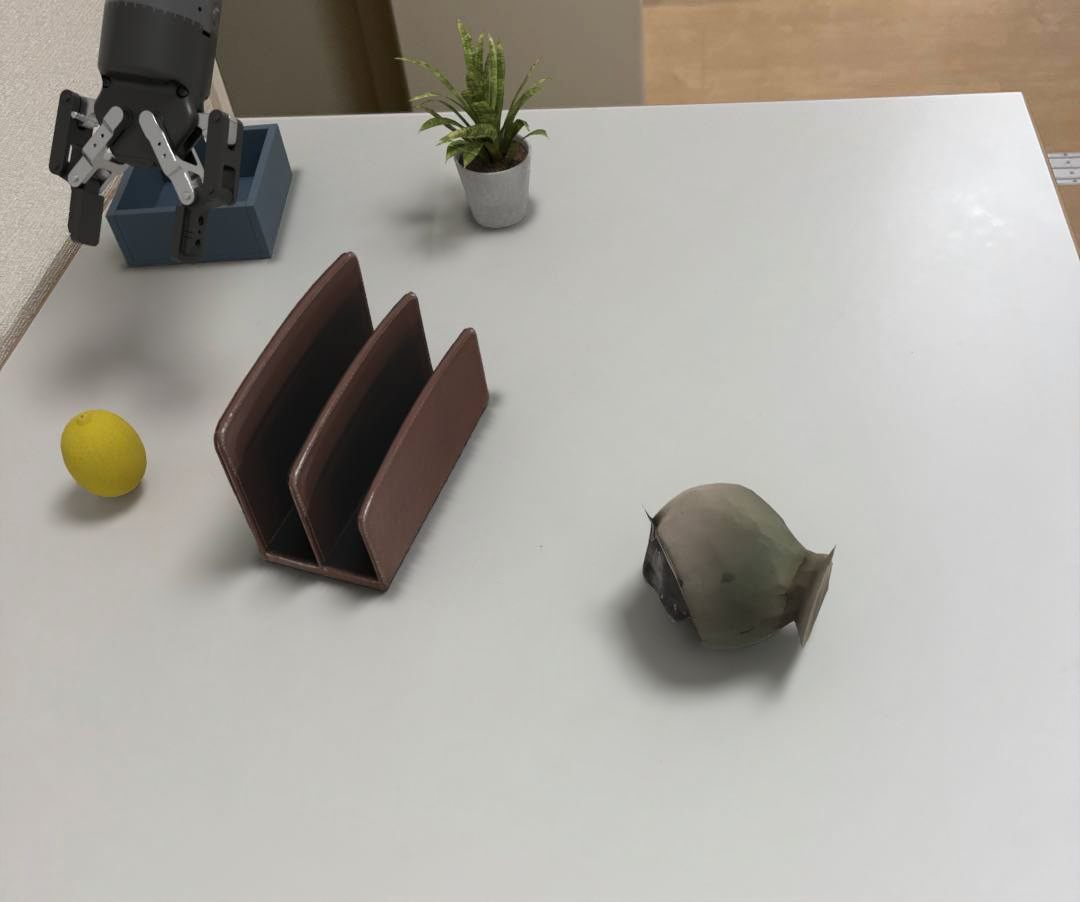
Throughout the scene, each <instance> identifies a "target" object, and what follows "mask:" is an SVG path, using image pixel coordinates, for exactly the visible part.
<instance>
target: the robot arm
mask: <svg viewBox="0 0 1080 902" xmlns="http://www.w3.org/2000/svg"><path fill="white" fill-rule="evenodd" d="M103 4H104V6H103V13H102V21H101V30H100V39H99V47H98V55H97V56H98V57H97V70H98V71H99V74H100V77H101V82H102V83H101V89H100V91H99V93H98V95H97V97H96V98H93V97H87V96H85V95H82V94H80V93H77V92H75V91H73V90H71V89H67V88H65V89H63V90H62V91H61V92H60V94H59V97H58V98H59V99H58V104H57V110H56V117H55V124H54V130H53V137H52V140H51V141H52V142H51V146H50V154H49V160H48V170H49V172H50V173H51V174H52V175H55V176H58V177H59V178H61V179H62V180H64V181H65V182H67V183H68V185H69V186H70V200H69V209H68V211H69V212H68V217H67V230H68V233H69V234H70V235H69V236H70V237H69V238H70V240H71V242H73V243H76V244H79V245H84V246H89V247H94V248H95V247H97V246H98V245H99V244H100V239H101V238H100V237H101V230H102V221H103V212H104V205H105V196H103V195H101V194H103V192H104V191H105V190H106V189H107V187H108V186H109V185H110V183H111V182H112V181H114V179H115V178H116V176H119V175H123V174H124V172H125V171H126V170H127V168H128V167H129V166H130V165H131V166H133V167H138V168H149V167H152V168H155V169H158V170H160V171H163V172H164V173H165V174H166V176H168V177H169V178H170V180H171V181H172V184H173V186H174V188H175V190H176V192H177V195H178V197H179V199H180V201H181V202H182V206H176V209H175V217H174V224H173V232H172V240H171V247H170V257H171V259H172V260H174V261H178V262H182V264H186V265H192V266H193V265H195V264H196V261H197V257H200V256H201V254H202V252H203V249H204V241H205V234H206V227H207V219H208V214H209V212H210V211H211V210H212V209H213V208H216V207H220V206H224V205H226V206H233V205H234V204H235V203H236V202H237V198H238V186H239V175H240V163H241V152H242V140H243V129H244V127H243V126H244V123H243V121H242V120H240V119H238V118H237V117H235V116H234V115H232V114H229V113H227V112H225V111H223V110H220V109H219V108H218V109H217V108H215V109H213V110H211V111H210V112H209V113H208V112H205V101H207V100H209V98H210V96H211V91H212V82H213V76H214V70H215V69H214V68H215V61H216V53H217V45H218V37H219V30H220V25H221V23H220V22H221V16H222V8H223V0H104V3H103ZM94 128H97V129H96V131H95V132H94ZM202 136H204V140H205V142H206V153H205V165H204V169H203V167H202V164H201V162H200V160H199V158H198V156H197V153H196V151H195V149H194V146H195V145H196V143H197V142H198V141H199V140H200V138H201V137H202ZM108 150H109V151H110V152H108ZM70 151H71V152H70Z"/></svg>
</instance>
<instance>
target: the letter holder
mask: <svg viewBox="0 0 1080 902" xmlns="http://www.w3.org/2000/svg"><path fill="white" fill-rule="evenodd" d="M361 269H362V268H361V266H360V261H359V258H358V256H357V255H356V254H355V252H354V251H351V250H349V251H347V252H342V253H341V254H340V255H338V257H337V258H336V259H335V260H334V261H333V262H332V263H331V264H330V265H329V266H328V267H326V269H325V270H324V271H323V272H322V273H321V275H319V277H318V278H317V279H316V280H315V281H314V282H313V283H312V284H311V286H310V287H309V288H308V289H307V291H306V292H305V293H304V294H303V295H302V296H301V298H300V299H299V300H298V302H297V303H296V304H295V305H294V306H293V308H292V309H291V310H290V311H289V313H288V314H287V316H286V317H285V318H284V320H283V321H282V323H281V324H280V326H279V327H278V328H277V330H276V331H275V333H274V334H273V335H272V336H271V338H270V340H269V342H268V343H267V344H266V345H265V347H264V348H263V350H262V351H261V353H260V354H259V356H258V357H257V358H256V360H255V362H254V363H253V364H252V366H251V368H250V369H249V370H248V372H247V374H246V375H245V377H244V378H243V379H242V381H241V383H240V384H239V386H238V388H237V389H236V391H235V392H234V394H233V395H232V397H231V399H230V400H229V403H228V404H227V406H226V408H225V409H224V411H223V413H222V414H221V416H220V417H219V419H218V421H217V424H216V426H215V429H214V432H213V446H214V450H215V454H216V456H217V458H218V460H219V462H220V465H221V467H222V469H223V472H224V474H225V476H226V479H227V481H228V483H229V486H230V487H231V488H230V489H232V492H233V494H234V496H235V499H236V500H237V502H238V505H239V507H240V510H241V513H242V514H243V516H244V519H245V522H246V523H247V526H248V528H249V529H250V533H251V534H252V536H253V538H254V541H255V543H256V545H257V548H258V551H259V554H260V556H261V557H262V558H263V559H264V561H265V562H267V563H274V564H278V565H283V566H286V567H290V568H294V569H297V570H302V571H305V572H308V573H314V574H316V575H322V576H325V577H328V578H331V579H335V580H341V581H345V582H348V583H351V584H357V585H359V586H363V587H368V588H372V589H376V590H380V591H387V589H388V588H389V585H390V584H391V582H392V580H393V578H394V576H395V575H396V573H397V570H398V569H399V567H400V566H401V563H402V562H403V559H405V557H406V554H407V553H408V551H409V549H410V547H411V545H412V543H413V541H414V540H415V537H416V535H418V532H419V530H420V528H421V527H422V526H423V523H424V522H425V520H426V518H427V515H428V513H429V512H430V510H431V508H432V506H433V504H434V503H435V501H436V500H437V497H438V495H439V494H440V492H441V490H442V488H443V487H444V485H445V483H446V481H447V479H448V478H449V475H450V474H451V472H452V470H453V468H454V466H455V464H456V463H457V460H458V459H459V457H460V454H461V453H462V452H463V449H464V447H465V446H466V444H467V442H468V440H469V438H470V436H471V434H472V433H473V431H474V428H475V427H476V425H477V423H478V421H479V419H480V417H481V416H482V413H483V412H484V410H485V408H486V406H487V405H488V403H489V400H490V393H489V388H488V384H487V378H486V372H485V368H484V367H485V366H484V363H483V358H482V354H481V349H480V344H479V339H478V335H477V331H476V329H475V328H474V327H465V328H464V329H462V331H461V332H460V333H459V335H458V336H457V338H456V339H455V340H454V342H453V343H452V344H451V345H450V346H449V349H448V350H446V352H445V353H444V355H443V357H442V358H441V359H440V361H439V362H438V364H437V366H436V367H435V369H434V368H433V364H432V359H431V353H430V351H429V347H428V341H427V336H426V331H425V329H424V328H425V327H424V322H423V317H422V312H421V307H420V302H419V297H418V296H417V294H416V293H415V292H413V291H409V292H407V293H405V294H404V295H402V297H401V298H400V299H399V301H397V303H395V304H394V305H393V307H392V308H391V309H390V310H389V311H388V312H387V314H386V315H385V316H384V317H383V318H382V320H381V321H380V322H379V324H378V325H377V326H376V327H375V328H374V325H373V320H372V315H371V312H370V307H369V302H368V298H367V291H366V287H365V284H364V283H365V282H364V279H363V278H364V277H363V274H362V270H361Z"/></svg>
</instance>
